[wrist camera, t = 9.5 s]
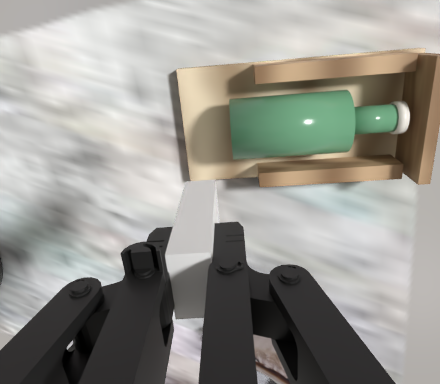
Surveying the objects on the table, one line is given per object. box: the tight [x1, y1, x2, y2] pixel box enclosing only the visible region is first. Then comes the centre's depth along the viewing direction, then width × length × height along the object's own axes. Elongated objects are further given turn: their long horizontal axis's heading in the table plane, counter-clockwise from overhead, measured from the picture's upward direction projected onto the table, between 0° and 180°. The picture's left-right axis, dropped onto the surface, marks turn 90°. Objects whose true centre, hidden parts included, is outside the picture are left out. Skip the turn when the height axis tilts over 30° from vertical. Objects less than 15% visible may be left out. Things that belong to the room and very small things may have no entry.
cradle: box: [176, 48, 440, 187], centre depth 32 cm, size 22×11×6 cm, turn 95°
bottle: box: [229, 90, 410, 160], centre depth 31 cm, size 5×5×15 cm
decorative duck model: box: [253, 335, 290, 384], centre depth 43 cm, size 15×8×15 cm
